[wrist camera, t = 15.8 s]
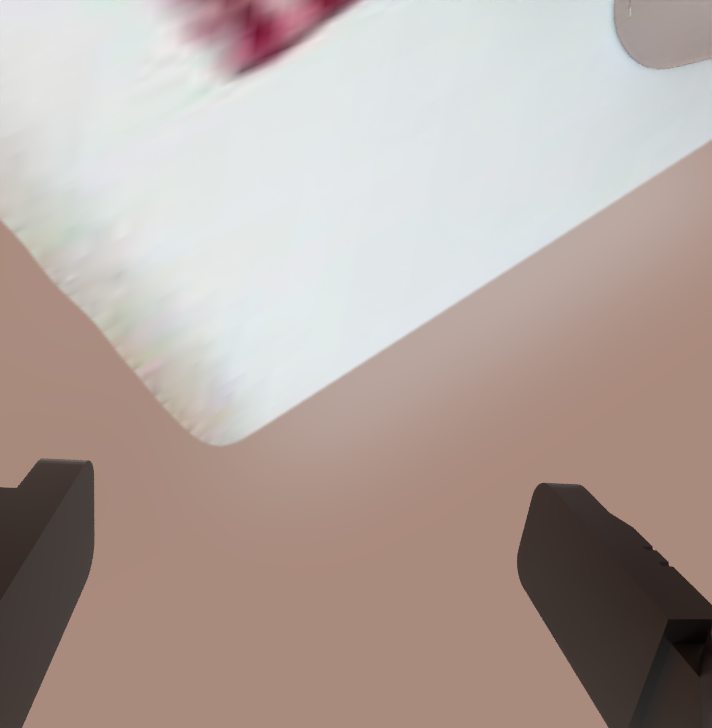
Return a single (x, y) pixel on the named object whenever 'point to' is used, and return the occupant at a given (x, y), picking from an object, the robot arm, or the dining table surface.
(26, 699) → the robot arm
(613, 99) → the dining table surface
